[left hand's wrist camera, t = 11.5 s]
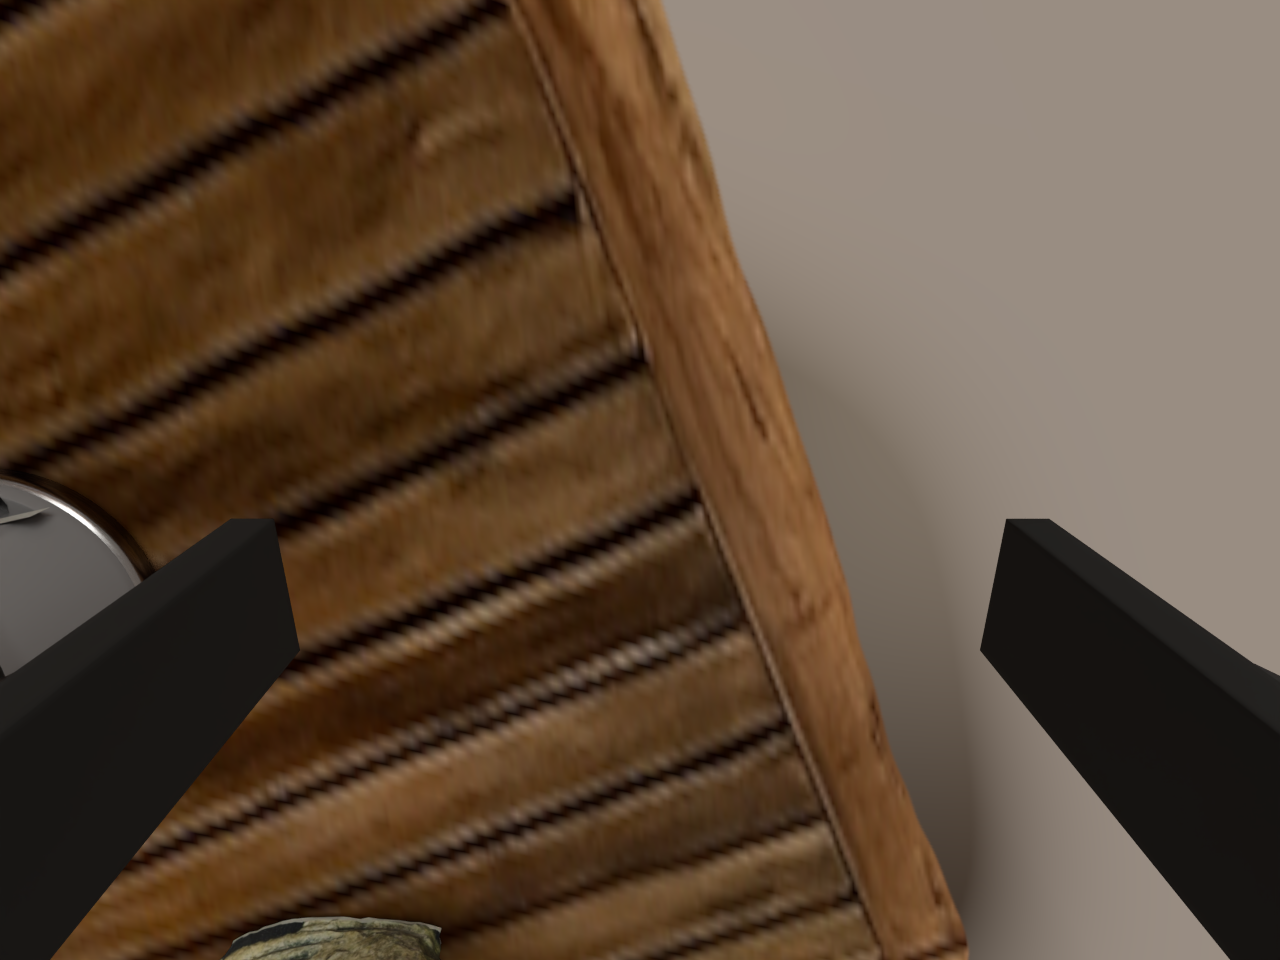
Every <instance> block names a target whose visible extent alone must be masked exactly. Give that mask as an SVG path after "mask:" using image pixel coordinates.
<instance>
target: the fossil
mask: <svg viewBox="0 0 1280 960" xmlns="http://www.w3.org/2000/svg"><path fill="white" fill-rule="evenodd" d="M440 932H441V928H440V927H437V926H433V925H429V924H425V923H421V922H407V921H400V920H388V919H377V918H369V917H368V918H363V919H356V918H350V917H311V918H300V919H291V920H286V921H282V922H279V923H276V924H272V925H269V926H265V927H263V928H261V929H260V930H258V931H253V932H249V933H247V934H245V935H243V936H241V937H239V938H237V939H236V940H234V941H233V943H232V946H231V947H230V949H229V950H228V952H227V953H226V954H225V956H223V957H222V958H221V959H220V960H440V958H439V955H440V951H441V941H440V938H439V936H440Z"/></svg>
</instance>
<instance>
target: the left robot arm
mask: <svg viewBox="0 0 1280 960" xmlns="http://www.w3.org/2000/svg"><path fill="white" fill-rule="evenodd" d="M299 651H300V648H299V643H298V638H297V633H296V628H295V623H294V618H293V613H292V608H291V603H290V598H289V593H288V588H287V583H286V578H285V573H284V568H283V563H282V558H281V553H280V548H279V543H278V538H277V533H276V528H275V523H274V519H230V520H229V521H227V522H226V523H224V524H223V525H222V526H220V527H219V528H217V529H216V530H214V531H213V532H212V533H210V534H209V535H207V536H206V537H205V538H203V539H202V540H200V541H199V542H198V543H196V544H195V545H193V546H192V547H190V548H189V549H188V550H186V551H185V552H183V553H182V554H181V555H179V556H178V557H176V558H175V559H173V560H172V561H171V562H169V563H168V564H166V565H165V566H164V567H162V568H161V569H159V570H158V571H157V572H154V570H153V568H152V566H151V564H150V562H149V561H148V559H147V557H146V556H145V554H144V553H143V551H142V549H141V548H140V547H139V545H138V544H137V543H136V541H135V540H134V539H133V538H132V536H131V535H130V534H129V533H128V532H127V531H126V530H125V529H124V528H123V527H122V526H121V525H120V524H119V523H118V522H117V521H116V520H115V519H114V518H113V517H112V516H110V515H109V514H108V513H107V512H106V511H104V510H103V509H102V508H101V507H99V506H98V505H96V504H95V503H93V502H92V501H90V500H89V499H87V498H86V497H84V496H82V495H81V494H79V493H77V492H75V491H73V490H71V489H69V488H67V487H65V486H63V485H61V484H59V483H56V482H54V481H51V480H49V479H46V478H43V477H39V476H36V475H33V474H28V473H24V472H20V471H13V470H6V469H0V960H50V959H51V958H52V956H53V955H54V954H55V953H56V952H57V950H58V949H59V948H60V947H61V945H62V944H63V943H64V942H65V940H66V939H67V938H68V937H69V935H70V934H71V933H72V932H73V930H74V929H75V928H76V927H77V926H78V924H79V923H80V922H81V921H82V919H83V918H84V917H85V916H86V914H87V913H88V912H89V911H90V909H91V908H92V907H93V906H94V904H95V903H96V902H97V901H98V900H99V898H100V897H101V896H102V895H103V893H104V892H105V891H106V890H107V888H108V887H109V886H110V885H111V883H112V882H113V881H114V880H115V878H116V877H117V876H118V875H119V874H120V872H121V871H122V870H123V869H124V867H125V866H126V865H127V864H128V862H129V861H130V860H131V859H132V857H133V856H134V855H135V854H136V852H137V851H138V850H139V849H140V848H141V846H142V845H143V844H144V843H145V841H146V840H147V839H148V838H149V836H150V835H151V834H152V833H153V831H154V830H155V829H156V828H157V827H158V825H159V824H160V823H161V822H162V820H163V819H164V818H165V817H166V815H167V814H168V813H169V812H170V810H171V809H172V808H173V807H174V805H175V804H176V803H177V802H178V801H179V799H180V798H181V797H182V796H183V794H184V793H185V792H186V791H187V789H188V788H189V787H190V786H191V784H192V783H193V782H194V781H195V779H196V778H197V777H198V776H199V775H200V773H201V772H202V771H203V770H204V768H205V767H206V766H207V765H208V763H209V762H210V761H211V760H212V758H213V757H214V756H215V755H216V753H217V752H218V751H219V750H220V749H221V747H222V746H223V745H224V744H225V742H226V741H227V740H228V739H229V737H230V736H231V735H232V734H233V732H234V731H235V730H236V729H237V727H238V726H239V725H240V724H241V723H242V721H243V720H244V719H245V718H246V716H247V715H248V714H249V713H250V711H251V710H252V709H253V708H254V706H255V705H256V704H257V703H258V702H259V700H260V699H261V698H262V697H263V695H264V694H265V693H266V692H267V690H268V689H269V688H270V687H271V685H272V684H273V683H274V682H275V680H276V679H277V678H278V677H279V676H280V674H281V673H282V672H283V671H284V669H285V668H286V667H287V666H288V664H289V663H290V662H291V661H292V659H293V658H294V657H295V656H296V654H297V653H298V652H299ZM980 651H981V652H982V653H983V654H984V656H985V657H986V658H987V659H988V661H989V662H990V663H991V664H992V666H993V667H994V668H995V669H996V671H997V672H998V673H999V674H1000V676H1001V677H1002V678H1003V679H1004V680H1005V682H1006V683H1007V684H1008V685H1009V687H1010V688H1011V689H1012V690H1013V692H1014V693H1015V694H1016V695H1017V697H1018V698H1019V699H1020V700H1021V701H1022V703H1023V704H1024V705H1025V706H1026V708H1027V709H1028V710H1029V711H1030V713H1031V714H1032V715H1033V716H1034V718H1035V719H1036V720H1037V721H1038V723H1039V724H1040V725H1041V726H1042V727H1043V729H1044V730H1045V731H1046V732H1047V734H1048V735H1049V736H1050V737H1051V739H1052V740H1053V741H1054V742H1055V744H1056V745H1057V746H1058V747H1059V749H1060V750H1061V751H1062V752H1063V753H1064V755H1065V756H1066V757H1067V758H1068V760H1069V761H1070V762H1071V763H1072V765H1073V766H1074V767H1075V768H1076V770H1077V771H1078V772H1079V773H1080V775H1081V776H1082V777H1083V778H1084V779H1085V781H1086V782H1087V783H1088V784H1089V786H1090V787H1091V788H1092V789H1093V791H1094V792H1095V793H1096V794H1097V796H1098V797H1099V798H1100V799H1101V801H1102V802H1103V803H1104V804H1105V805H1106V807H1107V808H1108V809H1109V810H1110V812H1111V813H1112V814H1113V815H1114V817H1115V818H1116V819H1117V820H1118V822H1119V823H1120V824H1121V825H1122V826H1123V828H1124V829H1125V830H1126V831H1127V833H1128V834H1129V835H1130V836H1131V838H1132V839H1133V840H1134V841H1135V843H1136V844H1137V845H1138V846H1139V848H1140V849H1141V850H1142V851H1143V852H1144V854H1145V855H1146V856H1147V857H1148V859H1149V860H1150V861H1151V862H1152V864H1153V865H1154V866H1155V867H1156V869H1157V870H1158V871H1159V872H1160V874H1161V875H1162V876H1163V877H1164V878H1165V880H1166V881H1167V882H1168V883H1169V885H1170V886H1171V887H1172V888H1173V890H1174V891H1175V892H1176V893H1177V895H1178V896H1179V897H1180V898H1181V900H1182V901H1183V902H1184V903H1185V904H1186V906H1187V907H1188V908H1189V909H1190V911H1191V912H1192V913H1193V914H1194V916H1195V917H1196V918H1197V919H1198V921H1199V922H1200V923H1201V924H1202V926H1203V927H1204V928H1205V929H1206V930H1207V932H1208V933H1209V934H1210V935H1211V937H1212V938H1213V939H1214V940H1215V942H1216V943H1217V944H1218V945H1219V947H1220V948H1221V949H1222V950H1223V952H1224V953H1225V954H1226V955H1227V956H1228V958H1229V959H1230V960H1280V676H1279V675H1277V674H1275V673H1273V672H1271V671H1269V670H1267V669H1264V668H1262V667H1260V666H1258V665H1256V664H1253V663H1252V662H1251V661H1249V660H1248V659H1246V658H1245V657H1243V656H1242V655H1241V654H1239V653H1238V652H1237V651H1235V650H1234V649H1232V648H1231V647H1229V646H1228V645H1227V644H1225V643H1224V642H1222V641H1221V640H1220V639H1218V638H1217V637H1215V636H1214V635H1212V634H1211V633H1210V632H1208V631H1207V630H1205V629H1204V628H1203V627H1201V626H1200V625H1198V624H1197V623H1195V622H1194V621H1193V620H1191V619H1190V618H1188V617H1187V616H1186V615H1184V614H1183V613H1181V612H1180V611H1179V610H1177V609H1176V608H1174V607H1173V606H1172V605H1170V604H1169V603H1167V602H1166V601H1164V600H1163V599H1162V598H1160V597H1159V596H1157V595H1156V594H1155V593H1153V592H1152V591H1150V590H1149V589H1147V588H1146V587H1145V586H1143V585H1142V584H1140V583H1139V582H1138V581H1136V580H1135V579H1133V578H1132V577H1131V576H1129V575H1128V574H1126V573H1125V572H1123V571H1122V570H1121V569H1119V568H1118V567H1116V566H1115V565H1114V564H1112V563H1111V562H1109V561H1108V560H1106V559H1105V558H1104V557H1102V556H1101V555H1099V554H1098V553H1097V552H1095V551H1094V550H1092V549H1091V548H1090V547H1088V546H1087V545H1085V544H1084V543H1082V542H1081V541H1080V540H1078V539H1077V538H1075V537H1074V536H1073V535H1071V534H1070V533H1068V532H1067V531H1066V530H1064V529H1063V528H1061V527H1060V526H1058V525H1057V524H1056V523H1054V522H1053V521H1051V520H1050V519H1006V523H1005V528H1004V533H1003V538H1002V543H1001V548H1000V553H999V558H998V563H997V568H996V573H995V578H994V583H993V588H992V593H991V598H990V603H989V608H988V613H987V618H986V623H985V628H984V633H983V638H982V643H981V648H980Z"/></svg>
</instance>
